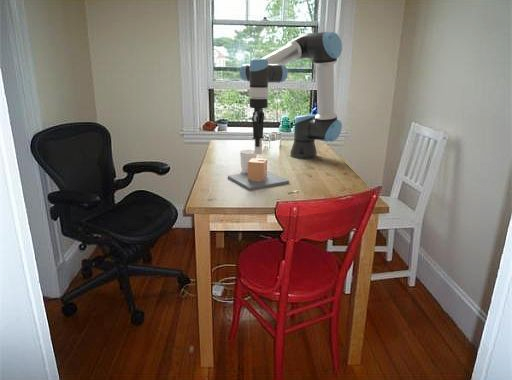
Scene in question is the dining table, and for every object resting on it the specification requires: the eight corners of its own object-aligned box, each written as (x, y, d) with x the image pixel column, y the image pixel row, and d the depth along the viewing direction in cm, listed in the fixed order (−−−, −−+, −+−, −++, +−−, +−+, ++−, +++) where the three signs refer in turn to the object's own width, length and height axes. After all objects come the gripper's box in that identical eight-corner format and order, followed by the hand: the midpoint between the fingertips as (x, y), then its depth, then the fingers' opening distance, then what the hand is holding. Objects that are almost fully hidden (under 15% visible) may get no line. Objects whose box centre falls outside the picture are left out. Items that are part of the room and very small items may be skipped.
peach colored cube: (251, 175, 165) (252, 157, 162) (266, 176, 163) (267, 158, 161) (247, 179, 159) (247, 160, 156) (263, 180, 157) (263, 162, 154)
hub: (264, 172, 175) (264, 161, 173) (289, 183, 158) (289, 171, 157) (227, 178, 165) (227, 167, 163) (249, 190, 149) (249, 178, 147)
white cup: (242, 174, 171) (242, 153, 167) (238, 170, 178) (238, 150, 175) (258, 173, 173) (258, 152, 169) (254, 169, 180) (254, 149, 177)
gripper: (253, 96, 157) (253, 149, 164) (245, 99, 145) (245, 156, 152) (270, 97, 155) (269, 150, 163) (264, 99, 143) (263, 157, 151)
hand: (258, 153), depth 158 cm, fingers closed
